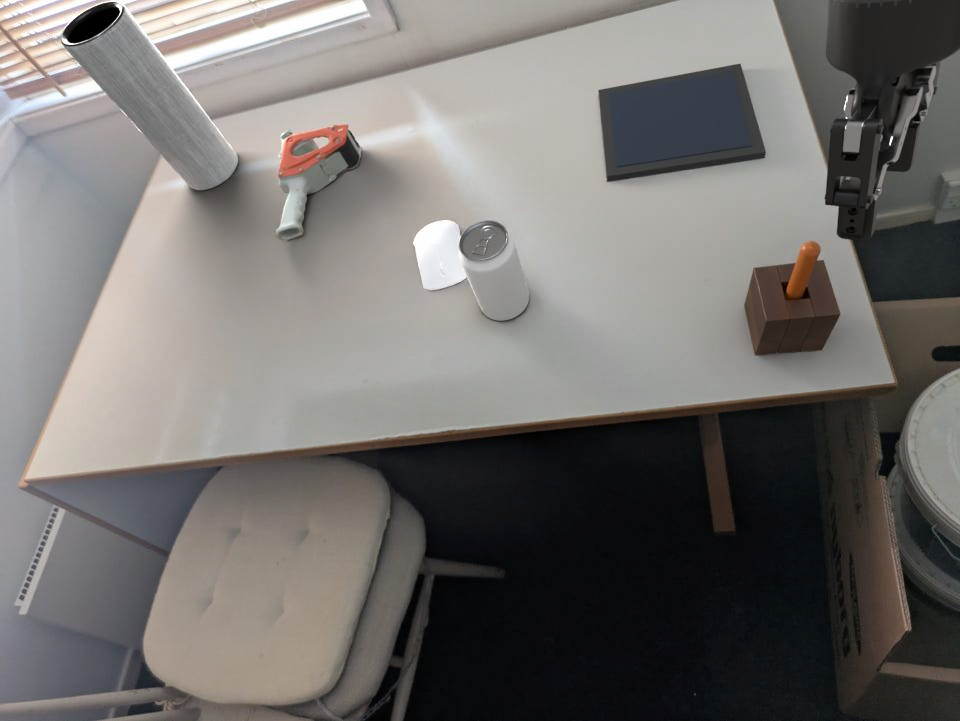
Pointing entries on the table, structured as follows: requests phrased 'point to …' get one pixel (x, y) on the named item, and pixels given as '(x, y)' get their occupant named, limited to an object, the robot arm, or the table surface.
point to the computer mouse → (439, 255)
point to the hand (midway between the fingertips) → (875, 201)
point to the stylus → (802, 270)
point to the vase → (149, 93)
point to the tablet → (679, 123)
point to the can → (494, 270)
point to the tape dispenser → (311, 169)
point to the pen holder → (790, 311)
